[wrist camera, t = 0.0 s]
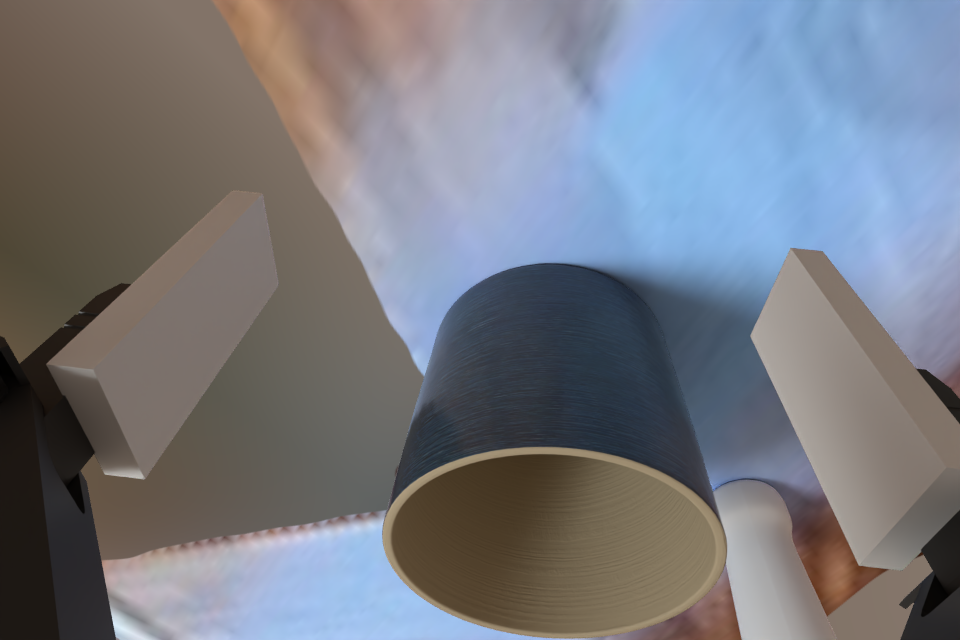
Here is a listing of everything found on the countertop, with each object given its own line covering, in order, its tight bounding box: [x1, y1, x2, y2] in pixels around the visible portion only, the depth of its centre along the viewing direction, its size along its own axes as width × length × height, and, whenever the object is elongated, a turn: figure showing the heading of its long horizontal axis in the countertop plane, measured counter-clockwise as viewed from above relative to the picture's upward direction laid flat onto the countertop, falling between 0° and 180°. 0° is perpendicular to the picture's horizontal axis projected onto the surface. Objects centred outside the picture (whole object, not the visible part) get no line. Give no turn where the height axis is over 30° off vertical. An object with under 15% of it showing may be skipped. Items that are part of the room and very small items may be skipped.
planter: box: [382, 264, 727, 638], centre depth 45 cm, size 22×22×20 cm
